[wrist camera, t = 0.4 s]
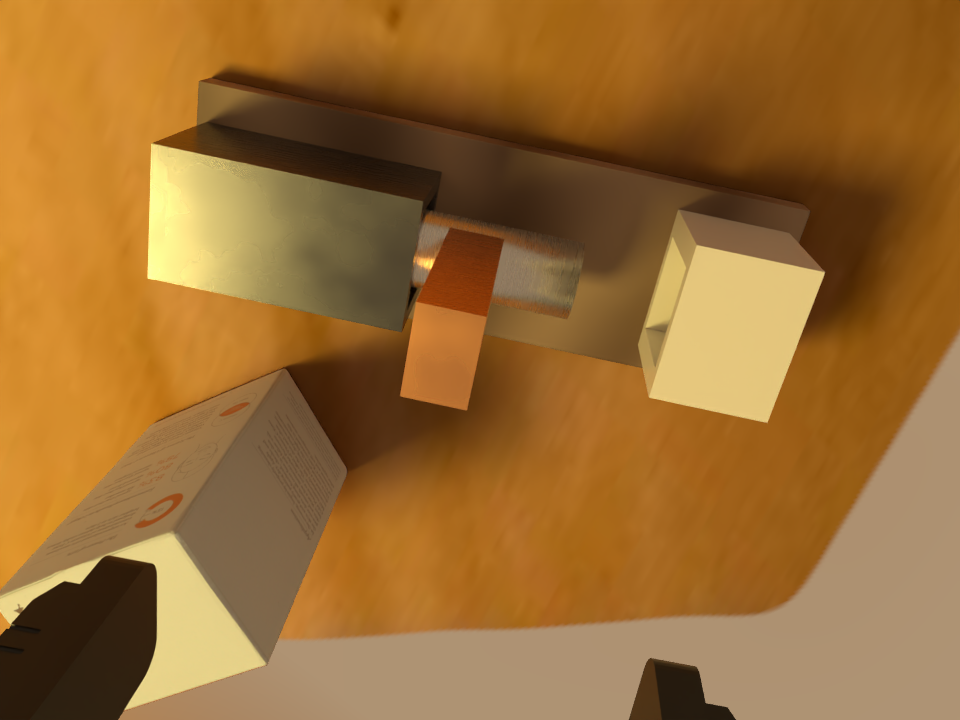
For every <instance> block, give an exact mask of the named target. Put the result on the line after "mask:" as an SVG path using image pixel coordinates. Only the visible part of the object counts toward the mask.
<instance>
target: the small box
mask: <svg viewBox="0 0 960 720" xmlns="http://www.w3.org/2000/svg"><path fill="white" fill-rule="evenodd" d="M346 476H347V468H346V466H345V465H344V463H343V462H342V460H341V458H340V457H339V455H338V453H337V452H336V450H335V449H334V447H333V445H332V444H331V442H330V440H329V439H328V437H327V435H326V434H325V432H324V430H323V429H322V427H321V425H320V424H319V422H318V420H317V419H316V417H315V415H314V414H313V412H312V410H311V409H310V407H309V405H308V403H307V402H306V400H305V399H304V397H303V395H302V394H301V392H300V390H299V389H298V387H297V386H296V384H295V382H294V381H293V379H292V377H291V376H290V374H289V372H288V371H287V370H286V369H281V370H278V371H276V372H274V373H271V374H269V375H266V376H264V377H262V378H259V379H257V380H254V381H252V382H250V383H247V384H245V385H242V386H240V387H238V388H235V389H233V390H231V391H228V392H226V393H223V394H221V395H219V396H216V397H214V398H212V399H209V400H207V401H205V402H202V403H200V404H198V405H195V406H193V407H191V408H188V409H186V410H184V411H181V412H179V413H177V414H174V415H172V416H170V417H167V418H165V419H163V420H161V421H158V422H156V423H154V424H152V425H150V426H149V427H148V429H147V430H146V431H145V432H144V433H143V435H142V436H141V437H140V438H139V439H138V440H137V441H136V442H135V443H134V444H133V445H132V447H131V448H130V449H129V450H128V451H127V452H126V453H125V454H124V456H123V457H122V458H121V459H120V460H119V461H118V462H117V464H116V465H115V466H114V467H113V468H112V469H111V470H110V471H109V472H108V474H107V475H106V476H105V477H104V478H103V479H102V480H101V481H100V482H99V483H98V484H97V486H96V487H95V488H94V489H93V490H92V491H91V492H90V493H89V494H88V495H87V496H86V497H85V498H84V500H83V501H82V502H81V503H80V504H79V505H78V506H77V507H76V508H75V509H74V510H73V511H72V512H71V513H70V515H69V516H68V517H67V518H66V519H65V520H64V521H63V522H62V523H61V524H60V525H59V526H58V528H57V529H56V530H55V531H54V532H53V533H52V534H51V535H50V536H49V537H48V538H47V540H46V541H45V542H44V543H43V544H42V545H41V546H40V547H39V548H38V550H37V551H36V552H35V553H34V554H33V555H32V556H31V557H30V558H29V559H28V560H27V562H26V563H25V564H24V565H23V566H22V567H21V568H20V569H19V570H18V571H17V573H16V574H15V575H14V576H13V577H12V578H11V579H10V580H9V581H8V582H7V584H6V585H5V586H4V587H3V588H2V589H1V590H0V612H1V613H2V615H3V616H4V617H5V618H6V620H7V621H8V622H9V624H10V625H11V623H12V622H13V621H14V620H15V619H16V618H17V617H18V615H19V614H20V613H21V612H22V611H23V610H24V609H25V608H26V607H27V605H28V604H29V603H30V602H31V601H32V600H33V599H35V598H36V597H38V596H40V595H41V594H43V593H45V592H46V591H48V590H50V589H52V588H53V587H55V586H57V585H58V584H60V583H62V582H63V581H67V582H73V583H78V584H80V583H81V582H82V581H83V580H84V579H85V578H86V576H87V575H88V574H89V573H90V572H91V570H92V569H93V568H94V567H95V566H96V564H97V563H98V562H99V561H100V560H101V559H102V558H103V557H105V556H107V555H110V556H116V557H121V558H126V559H132V560H137V561H142V562H148V563H152V564H154V565H155V567H156V570H157V641H156V647H155V652H154V656H153V659H152V662H151V665H150V667H149V669H148V672H147V674H146V676H145V677H144V679H143V681H142V682H141V684H140V686H139V687H138V689H137V690H136V692H135V694H134V695H133V697H132V698H131V700H130V702H129V703H128V705H127V706H126V708H125V710H124V711H126V710H130V709H133V708H136V707H139V706H142V705H145V704H148V703H151V702H154V701H157V700H160V699H163V698H166V697H169V696H172V695H176V694H178V693H182V692H185V691H188V690H191V689H194V688H197V687H200V686H203V685H206V684H210V683H212V682H216V681H219V680H222V679H225V678H228V677H231V676H234V675H238V674H241V673H244V672H247V671H250V670H253V669H256V668H259V667H262V666H266V665H267V664H268V662H269V659H270V657H271V654H272V652H273V650H274V647H275V645H276V643H277V640H278V638H279V635H280V633H281V631H282V628H283V626H284V624H285V621H286V619H287V616H288V614H289V612H290V609H291V607H292V605H293V602H294V599H295V597H296V595H297V592H298V590H299V588H300V585H301V583H302V580H303V578H304V576H305V574H306V571H307V569H308V566H309V564H310V561H311V559H312V557H313V554H314V552H315V550H316V547H317V545H318V542H319V540H320V538H321V535H322V533H323V530H324V528H325V526H326V523H327V521H328V519H329V516H330V514H331V511H332V509H333V506H334V504H335V502H336V499H337V497H338V495H339V492H340V490H341V487H342V485H343V483H344V480H345V478H346ZM124 711H123V712H124Z"/></svg>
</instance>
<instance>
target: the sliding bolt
mask: <svg viewBox="0 0 960 720" xmlns="http://www.w3.org/2000/svg"><path fill="white" fill-rule="evenodd" d="M583 256H584V243H582V242H577V241H573V240H568V239H563V238H558V237H554V236H549V235H544V234H540V233H535V232H530V231H526V230H521V229H516V228H511V227H507V226H502V225H497V224H493V223H488V222H483V221H479V220H474V219H469V218H465V217H460V216H455V215H450V214H446V213H441V212H436V211H432V210H427V209H426V210H425V211H424V213H423V217H422V223H421V229H420V235H419V241H418V247H417V253H416V259H415V265H414V271H413V277H412V283H411V287H416V288H421V289H422V290H421V292H420V294H419V297H418V299H417V301H416V305H415V311H414V317H413V323H412V329H411V334H410V340H409V346H408V352H407V358H406V363H405V369H404V375H403V381H402V387H401V393H400V396H401V397H406V398H410V399H415V400H420V401H424V402H429V403H434V404H438V405H443V406H448V407H452V408H457V409H462V410H467V408H468V403H469V399H470V394H471V390H472V385H473V381H474V376H475V372H476V367H477V363H478V358H479V354H480V349H481V345H482V340H483V336H484V331H485V327H486V322H487V318H488V313H489V308H490V303H491V304H496V305H500V306H505V307H510V308H514V309H519V310H524V311H529V312H533V313H538V314H543V315H547V316H552V317H557V318H561V319H566V320H567V319H568V317H569V315H570V312H571V309H572V306H573V302H574V299H575V295H576V291H577V287H578V283H579V278H580V273H581V268H582V263H583Z"/></svg>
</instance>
